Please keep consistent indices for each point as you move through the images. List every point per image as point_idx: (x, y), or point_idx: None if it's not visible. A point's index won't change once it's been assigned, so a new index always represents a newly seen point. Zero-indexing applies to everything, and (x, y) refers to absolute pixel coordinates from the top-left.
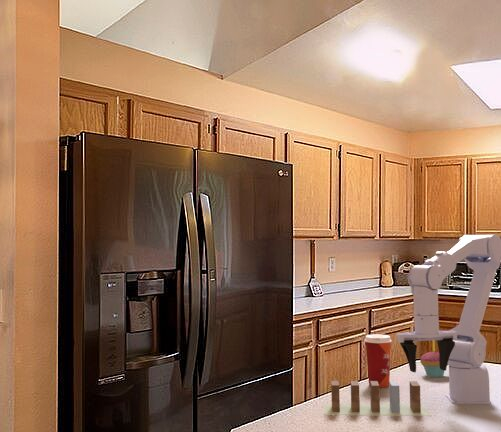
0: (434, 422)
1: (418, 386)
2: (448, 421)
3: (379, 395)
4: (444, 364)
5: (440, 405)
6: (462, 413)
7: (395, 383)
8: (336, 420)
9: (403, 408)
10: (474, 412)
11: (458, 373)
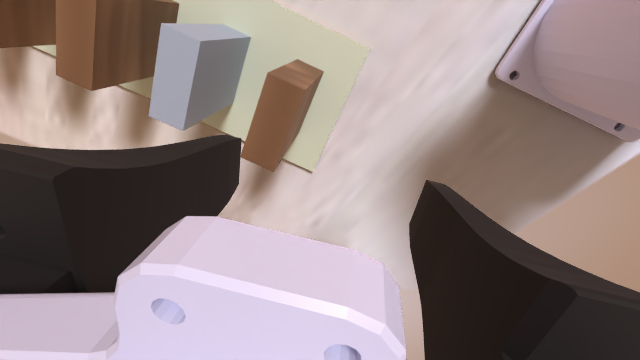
0: (294, 210)
1: (267, 168)
2: (336, 219)
3: (125, 82)
4: (414, 257)
5: (438, 64)
6: (433, 178)
7: (178, 85)
8: (24, 84)
9: (266, 62)
10: (479, 185)
11: (629, 100)
